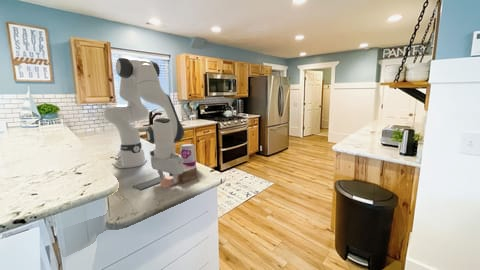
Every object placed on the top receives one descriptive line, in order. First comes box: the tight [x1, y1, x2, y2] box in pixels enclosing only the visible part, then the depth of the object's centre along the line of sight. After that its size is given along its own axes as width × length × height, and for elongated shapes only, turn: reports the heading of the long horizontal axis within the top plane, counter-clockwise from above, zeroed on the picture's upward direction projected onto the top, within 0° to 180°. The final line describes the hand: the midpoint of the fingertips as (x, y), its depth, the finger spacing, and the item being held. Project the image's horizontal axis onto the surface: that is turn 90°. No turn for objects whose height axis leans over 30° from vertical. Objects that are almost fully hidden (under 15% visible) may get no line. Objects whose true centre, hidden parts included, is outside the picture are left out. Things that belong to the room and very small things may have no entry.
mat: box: [132, 176, 167, 191], centre depth 107 cm, size 7×16×1 cm, turn 145°
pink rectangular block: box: [159, 175, 181, 189], centre depth 108 cm, size 4×14×4 cm, turn 145°
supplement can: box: [179, 143, 197, 167], centre depth 125 cm, size 8×8×15 cm
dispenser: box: [168, 164, 198, 184], centre depth 112 cm, size 11×9×6 cm
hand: (168, 180), depth 104 cm, fingers open, 8 cm apart
